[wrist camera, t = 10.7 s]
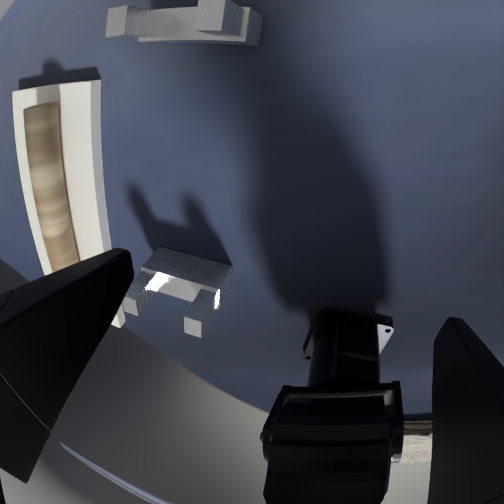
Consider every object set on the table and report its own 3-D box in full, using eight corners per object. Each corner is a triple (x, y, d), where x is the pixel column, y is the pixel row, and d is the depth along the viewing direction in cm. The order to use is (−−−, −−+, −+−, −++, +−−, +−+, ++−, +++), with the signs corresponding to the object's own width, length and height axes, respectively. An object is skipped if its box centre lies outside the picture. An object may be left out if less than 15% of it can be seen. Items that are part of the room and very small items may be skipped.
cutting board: (125, 320, 32) (120, 327, 31) (58, 292, 34) (52, 297, 33) (101, 79, 18) (90, 81, 17) (21, 89, 20) (12, 91, 19)
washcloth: (436, 448, 35) (436, 464, 33) (329, 449, 40) (326, 466, 37) (465, 413, 29) (468, 432, 26) (337, 416, 34) (334, 437, 31)
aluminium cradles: (230, 285, 25) (203, 340, 20) (160, 265, 26) (123, 312, 21) (263, 17, 14) (229, -7, 9) (166, 16, 15) (106, 5, 10)
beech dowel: (90, 302, 32) (94, 320, 30) (67, 307, 30) (68, 326, 28) (59, 100, 19) (56, 104, 17) (26, 106, 18) (19, 112, 16)
